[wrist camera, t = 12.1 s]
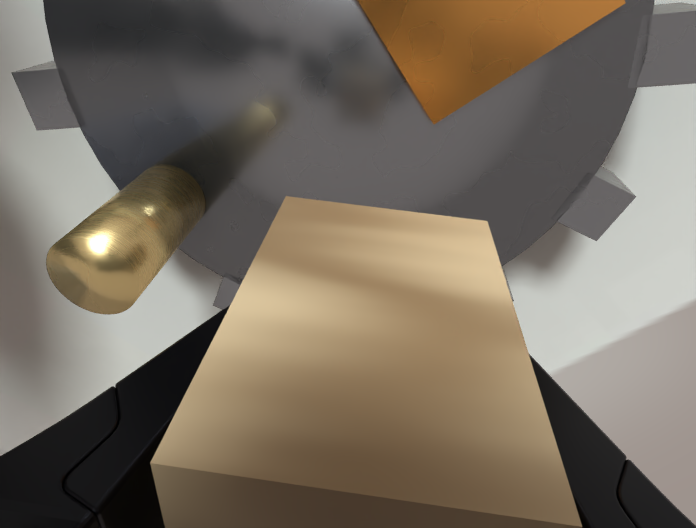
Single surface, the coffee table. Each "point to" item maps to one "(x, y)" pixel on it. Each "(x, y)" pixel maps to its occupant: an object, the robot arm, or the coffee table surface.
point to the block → (366, 387)
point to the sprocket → (339, 119)
